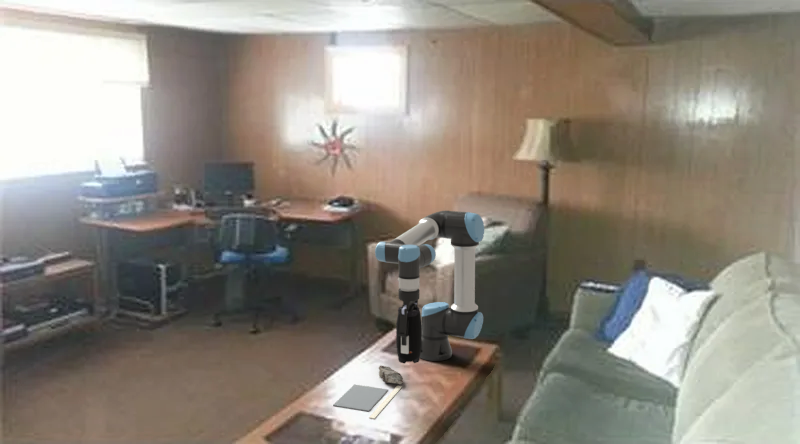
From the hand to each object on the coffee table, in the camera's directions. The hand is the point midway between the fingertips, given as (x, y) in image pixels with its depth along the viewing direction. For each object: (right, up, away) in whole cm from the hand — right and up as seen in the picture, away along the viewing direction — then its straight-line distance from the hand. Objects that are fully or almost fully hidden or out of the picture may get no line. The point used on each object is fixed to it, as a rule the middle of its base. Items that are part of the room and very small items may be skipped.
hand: (408, 348), depth 254 cm
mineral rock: (-7, -17, +24) cm, 30 cm away
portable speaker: (0, -5, +1) cm, 5 cm away
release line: (-8, -20, +5) cm, 23 cm away
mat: (-18, -20, +8) cm, 28 cm away
